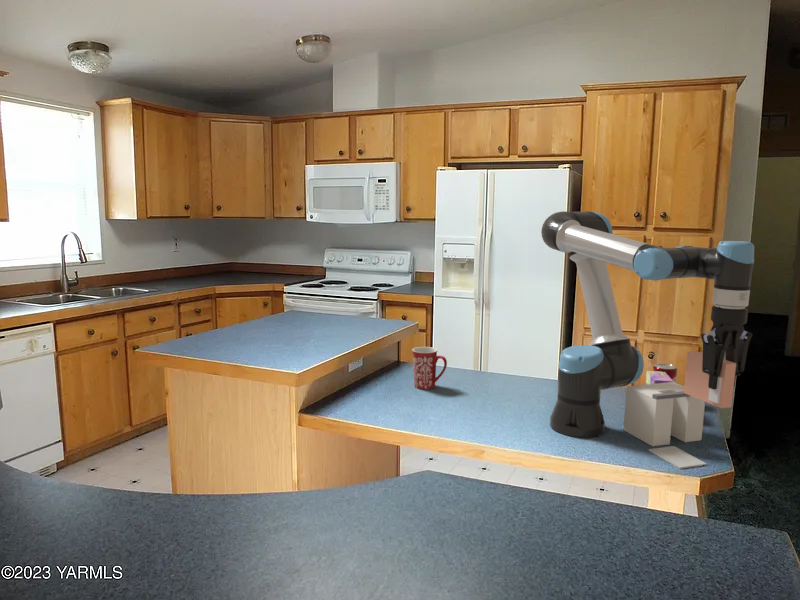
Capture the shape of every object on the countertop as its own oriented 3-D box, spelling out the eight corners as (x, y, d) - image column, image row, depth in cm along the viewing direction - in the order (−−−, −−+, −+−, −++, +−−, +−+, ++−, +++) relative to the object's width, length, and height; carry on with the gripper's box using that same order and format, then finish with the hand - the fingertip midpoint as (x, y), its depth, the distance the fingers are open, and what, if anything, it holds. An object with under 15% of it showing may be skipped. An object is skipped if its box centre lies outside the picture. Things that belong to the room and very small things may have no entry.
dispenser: (652, 446, 151) (656, 396, 149) (623, 429, 163) (626, 382, 160) (701, 440, 156) (706, 391, 153) (669, 424, 167) (673, 378, 165)
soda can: (669, 398, 191) (672, 363, 189) (677, 405, 184) (681, 369, 182) (647, 397, 192) (650, 362, 190) (654, 404, 184) (657, 368, 183)
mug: (407, 388, 199) (407, 350, 197) (417, 381, 207) (418, 345, 205) (440, 393, 194) (441, 355, 192) (450, 386, 202) (451, 349, 200)
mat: (679, 468, 138) (680, 467, 138) (648, 450, 148) (648, 449, 148) (706, 465, 140) (706, 463, 140) (673, 447, 151) (673, 446, 151)
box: (670, 418, 172) (674, 380, 170) (650, 417, 173) (653, 379, 171) (662, 407, 182) (665, 371, 180) (643, 405, 183) (646, 370, 181)
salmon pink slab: (721, 408, 136) (726, 364, 135) (683, 392, 148) (687, 351, 146) (731, 407, 137) (736, 363, 136) (692, 391, 149) (696, 351, 147)
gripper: (715, 310, 129) (705, 409, 133) (770, 307, 134) (758, 402, 137) (690, 305, 136) (681, 398, 140) (742, 302, 141) (732, 393, 145)
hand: (719, 400), depth 139 cm, fingers closed on salmon pink slab, 3 cm apart
